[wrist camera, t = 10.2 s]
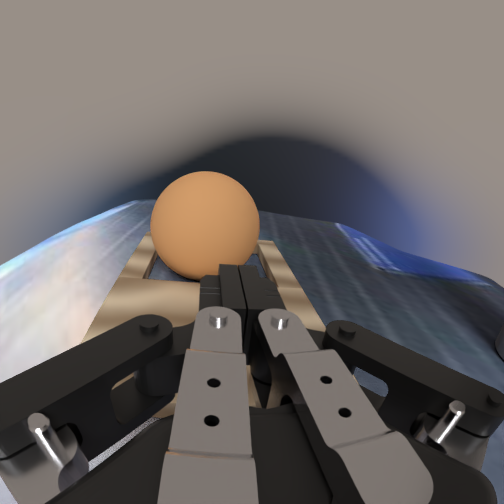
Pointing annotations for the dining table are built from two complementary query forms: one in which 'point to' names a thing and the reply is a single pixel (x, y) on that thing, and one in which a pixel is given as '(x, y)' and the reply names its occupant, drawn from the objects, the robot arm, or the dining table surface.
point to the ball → (204, 224)
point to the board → (187, 298)
